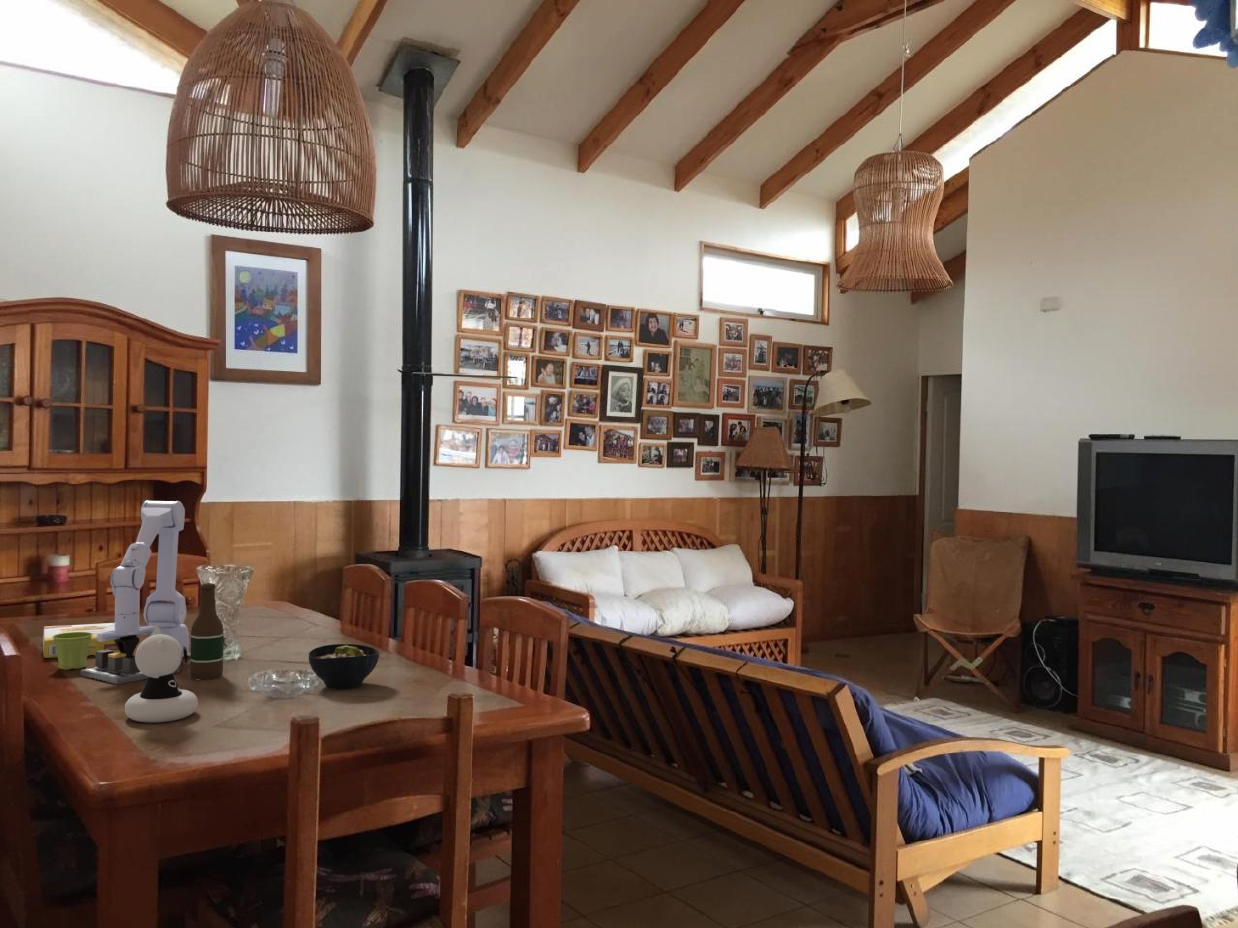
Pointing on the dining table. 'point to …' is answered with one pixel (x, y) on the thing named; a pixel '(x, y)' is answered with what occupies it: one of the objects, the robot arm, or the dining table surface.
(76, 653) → the plant pot
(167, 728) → the dining table surface
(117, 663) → the block
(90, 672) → the panel
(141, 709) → the decorative figurine
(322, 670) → the bowl
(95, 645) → the cereal box
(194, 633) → the beer bottle
